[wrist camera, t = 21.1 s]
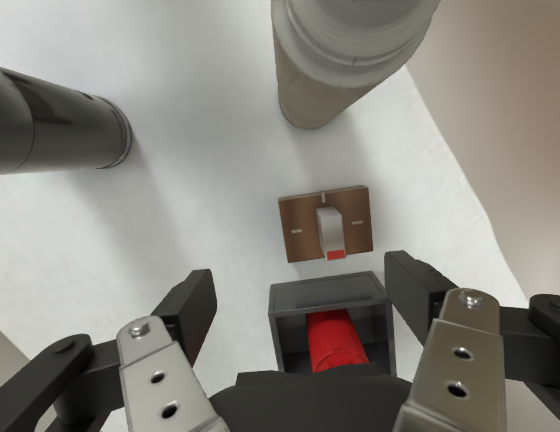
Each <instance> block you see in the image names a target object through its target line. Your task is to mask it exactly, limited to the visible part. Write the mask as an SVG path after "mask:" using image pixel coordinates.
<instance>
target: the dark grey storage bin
mask: <svg viewBox="0 0 560 432" xmlns="http://www.w3.org/2000/svg"><path fill="white" fill-rule="evenodd" d="M345 308H347V311H348V312H349V315H350V317H351V319H352V322H353V324H354V327H355V329H356V331H357V334H358V336H359V339H360V341H361V344H362V346H363V348H364V351H365V353H366V356H367V358H368V361H369V363H371V362H377V365H378V367H379V369H380V371H381V374H386V375H390V376H395V377H397V373H396V357H395V342H394V326H393V310H392V302H391V301H390V299H389V298H388V296H387V293H386V289H385V288H384V286H383V285H382V284H381V283H380V281H379V280H378V279H377V277H376V276H375V275H374V273H373V272H372V271H369V272H362V273H354V274H347V275H340V276H332V277H325V278H317V279H310V280H303V281H295V282H288V283H280V284H273V285H271V288H270V297H269V308H268V316H269V322H270V327H271V333H272V338H273V343H274V349H275V354H276V359H277V365H278V370H279V371H280V372H287V373H294V374H301V375H310V374H313V370H312V362H311V355H310V348H309V340H308V333H307V325H306V314H307V313H314V312H322V311H330V310H338V309H345Z"/></svg>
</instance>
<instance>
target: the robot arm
mask: <svg viewBox="0 0 560 432" xmlns="http://www.w3.org/2000/svg"><path fill="white" fill-rule="evenodd" d="M130 145H131V131H130V127H129V124H128V121H127V119H126V117H125V116H124V114H123V113H122V112H121V110H120V109H119V108H118V107H117V106H116V105H114V104H113V103H112V102H110V101H108V100H106V99H104V98H101V97H98V96H94V95H91V94H90V95H89V94H88V93H87V94H85V92H84V93H82V91H81V92H79V90H78V91H76V89H75V90H73V88H72V89H70V88H67V87H63V86H60V85H57V84H54V83H51V82H47V81H44V80H41V79H38V78H35V77H31V76H28V75H25V74H22V73H18V72H15V71H12V70H9V69H6V68H2V67H0V175H6V174H20V173H35V172H49V171H64V170H78V169H104V168H110V167H113V166H115V165H117V164H119V163H120V162H121V161H122V160H123V159H124V158H125V157H126V155H127V153H128V151H129V149H130ZM384 270H385V289H386V293H387V296H388V298H389V299H390V301H391V302H392V304H393V305H394V306H395V308H396V309H397V311H398V312H399V313H400V315H401V316H402V318H403V319H404V320H405V322H406V323H407V325H408V326H409V327H410V329H411V330H412V332H413V333H414V334H415V336H416V337H417V339H418V340H419V341H420V343H421V344H422V346H423V347H424V349H423V352H422V356H421V359H420V362H419V365H418V368H417V371H416V374H415V377H414V380H413V383H411V382H409V381H406V380H404V379H401V378H398V377H395V376H390V375H386V374H381V371H380V369H379V367H378V365H377V362H371V363H358V364H345V365H339V366H336V367H333V368H330V369H326V370H323V371H320V372H317V373H313V374H310V375H301V374H294V373H287V372H280V371H273V370H269V371H257V372H244V373H238V375H237V380H236V385H234V386H231V387H229V388H226V389H224V390H222V391H220V392H218V393H216V394H215V395H213V396H211V397H210V398H207V396H206V394H205V392H204V390H203V388H202V386H201V384H200V383H199V381H198V379H197V377H196V375H195V373H194V371H193V369H192V368H193V365H194V363H195V361H196V358H197V356H198V354H199V351H200V349H201V347H202V344H203V342H204V340H205V337H206V335H207V333H208V330H209V328H210V326H211V323H212V321H213V319H214V316H215V314H216V311H217V298H216V293H215V287H214V282H213V277H212V272H211V270H210V269H201V270H193V271H192V272H191V273H190V274H189V276H188V277H187V278H186V280H185V281H184V282H181V283H179V284H178V285H176V286H175V287H173V288H172V289H171V290H170V292H169V293H168V294H167V296H165V298H164V299H163V301H162V302H160V304H159V305H158V306H157V307H156V309H155V310H154V311H153V312H152V313H151V315H150V316H146V317H142V318H139V319H136V320H134V321H132V322H130V323H128V324H127V325H125V326H124V327H123V328H122V329H121V330H120V331H119V332H118V333H117V336H116V339H115V340H111V341H108V342H104V343H101V344H97V345H94V346H93V344H92V341H91V338H90V336H89V335H87V334H76V335H72V336H69V337H66V338H64V339H61V340H59V341H57V342H55V343H53V344H52V345H50V346H48V347H47V348H45V349H44V350H43V351H42V352H41V353H39V354H38V355H37V356H36V357H35V358H34V359H32V360H31V361H30V362H29V363H28V364H27V365H26V366H25V367H23V368H22V369H21V370H20V371H19V372H18V373H16V374H15V375H14V376H13V377H12V378H11V379H9V380H8V381H7V382H6V383H5V384H4V385H3V386H1V387H0V432H34V430H35V427H36V425H37V423H38V421H39V419H40V418H41V416H42V415H43V414H44V413H45V412H46V411H47V409H48V408H49V407H50V406H51V405H52V404H53V406H54V408H55V411H56V413H57V417H56V418H55V420H54V421H53V422H52V423H51V425H50V426H49V427H48V428H47V429H46V431H45V432H99V431H100V429H101V428H102V426H103V425H104V423H105V421H106V420H107V418H108V416H109V415H110V413H111V411H114V410H116V409H119V408H122V407H125V412H126V418H127V424H128V431H129V432H507V421H506V396H505V379H511V380H517V381H523V382H524V383H525V385H526V386H527V387H528V388H529V389H530V390H531V391H532V392H533V393H534V394H535V395H536V396H537V397H538V398H539V399H540V400H541V401H542V403H544V404H545V406H546V407H547V408H548V409H549V410H550V411H551V412H552V413H553V414H554V415H555V416H556V417H557V418H558V419H559V420H560V296H559V295H552V294H538V295H534V296H532V297H531V298H530V302H529V309H525V308H513V307H503V306H500V305H499V302H498V301H497V300H496V299H495V298H494V297H493V296H491V295H489V294H487V293H485V292H482V291H478V290H474V289H469V288H459V287H458V286H457V285H455V284H454V283H453V282H451V281H450V280H449V279H448V278H446V277H445V276H443V275H442V274H441V273H440V272H439V271H436V269H435V268H433V267H432V266H431V265H430V264H428V263H425V262H423V261H420V260H415V259H414V258H413V257H411V256H410V255H409V254H408V253H406V252H405V251H404V250H400V251H390V252H386V253H385V255H384Z"/></svg>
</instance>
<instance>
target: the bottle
mask: <svg viewBox="0 0 560 432" xmlns="http://www.w3.org/2000/svg"><path fill="white" fill-rule="evenodd" d="M306 325H307V333H308V340H309V348H310V355H311V362H312V370H313V373H317V372H320V371H323V370H326V369H330V368H333V367H336V366H339V365H345V364H358V363H369V361H368V358H367V356H366V353H365V351H364V348H363V346H362V344H361V341H360V339H359V336H358V334H357V331H356V329H355V327H354V324H353V322H352V319H351V317H350V315H349V312H348V311H347V308H345V309H338V310H330V311H322V312H314V313H307V314H306Z"/></svg>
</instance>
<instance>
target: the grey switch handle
mask: <svg viewBox="0 0 560 432" xmlns="http://www.w3.org/2000/svg"><path fill="white" fill-rule="evenodd" d="M316 215H317V223H318V231H319V238H320V246H321V249H322V251H323V254H324V256H325V259H326V261H329V260H336V259H343V258H346V252H345V243H344V234H343V225H342V216H341V214H340V213H339V212H338V210H337V209H336V208H335V207H334V206H330V207H323V208H317V209H316Z"/></svg>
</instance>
